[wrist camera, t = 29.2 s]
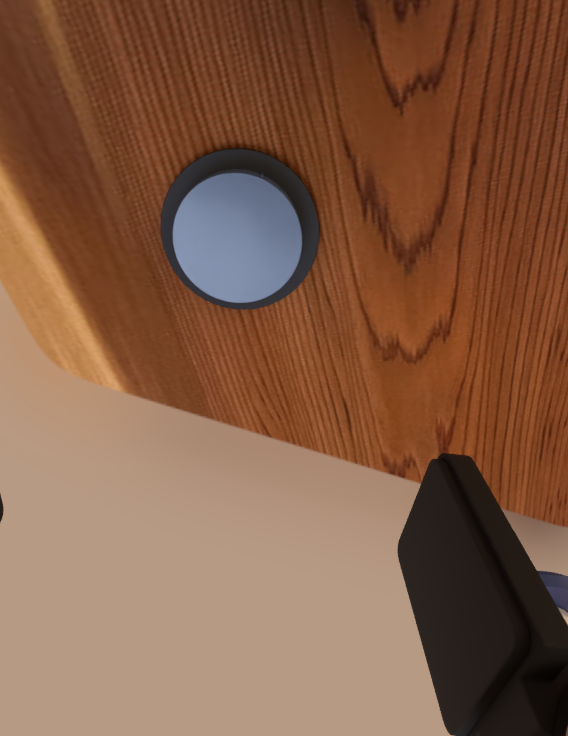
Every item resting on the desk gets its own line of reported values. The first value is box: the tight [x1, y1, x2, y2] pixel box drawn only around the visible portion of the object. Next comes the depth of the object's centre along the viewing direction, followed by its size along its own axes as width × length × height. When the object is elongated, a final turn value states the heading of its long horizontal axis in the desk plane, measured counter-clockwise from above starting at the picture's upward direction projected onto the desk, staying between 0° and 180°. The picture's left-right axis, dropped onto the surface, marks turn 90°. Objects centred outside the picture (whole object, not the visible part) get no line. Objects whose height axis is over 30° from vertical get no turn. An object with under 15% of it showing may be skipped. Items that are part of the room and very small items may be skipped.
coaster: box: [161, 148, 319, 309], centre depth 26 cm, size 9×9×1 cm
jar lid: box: [172, 169, 302, 303], centre depth 25 cm, size 7×7×2 cm
